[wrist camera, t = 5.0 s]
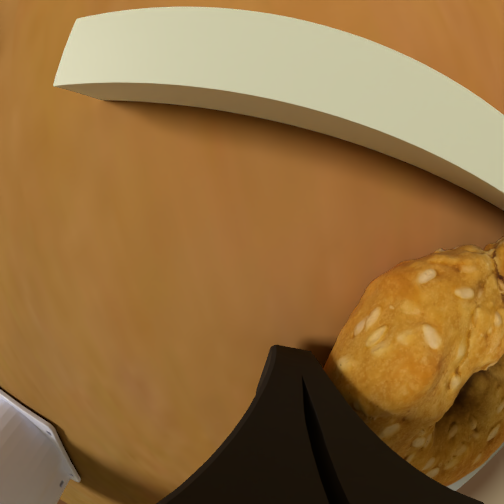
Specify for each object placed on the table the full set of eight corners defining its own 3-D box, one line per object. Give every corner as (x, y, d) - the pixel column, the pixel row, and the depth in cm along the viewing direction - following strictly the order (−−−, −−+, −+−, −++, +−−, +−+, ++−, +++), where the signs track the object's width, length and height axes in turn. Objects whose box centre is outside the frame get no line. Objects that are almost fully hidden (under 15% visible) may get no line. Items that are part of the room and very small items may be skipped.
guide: (429, 471, 12) (441, 501, 9) (102, 433, 12) (81, 470, 9) (572, 214, 7) (610, 229, 4) (118, 45, 7) (66, 12, 4)
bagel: (535, 324, 9) (586, 371, 4) (376, 455, 11) (394, 525, 7) (482, 154, 7) (587, 163, 2) (248, 358, 10) (232, 475, 5)
